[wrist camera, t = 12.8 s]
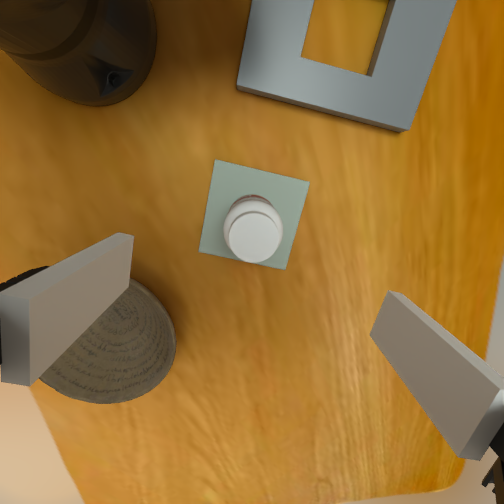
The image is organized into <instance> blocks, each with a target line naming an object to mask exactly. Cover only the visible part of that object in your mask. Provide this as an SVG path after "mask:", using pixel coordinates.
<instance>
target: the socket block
mask: <svg viewBox="0 0 504 504" xmlns="http://www.w3.org/2000/svg"><path fill="white" fill-rule="evenodd" d="M456 1H457V0H389V4H388V7H387V10H386V13H385V17H384V20H383V23H382V26H381V30H380V33H379V36H378V39H377V43H376V46H375V49H374V52H373V56H372V59H371V62H370V65H369V69H368V72H367V75H363V74H359V73H355V72H352V71H348V70H345V69H341V68H337V67H334V66H330V65H327V64H323V63H319V62H316V61H312V60H309V59H305V58H301V57H300V56H301V52H302V48H303V44H304V40H305V36H306V32H307V27H308V23H309V19H310V15H311V11H312V7H313V3H314V0H252V5H251V10H250V15H249V21H248V26H247V31H246V37H245V42H244V47H243V53H242V58H241V63H240V68H239V74H238V79H237V84H236V85H237V90H241V91H244V92H248V93H252V94H256V95H260V96H263V97H267V98H271V99H275V100H279V101H282V102H286V103H290V104H294V105H298V106H301V107H305V108H309V109H313V110H317V111H320V112H324V113H328V114H332V115H336V116H339V117H343V118H347V119H351V120H355V121H358V122H362V123H366V124H370V125H374V126H377V127H381V128H385V129H389V130H393V131H396V132H404V131H408V130H409V129H410V127H411V124H412V121H413V119H414V116H415V113H416V110H417V108H418V105H419V102H420V99H421V97H422V94H423V91H424V88H425V86H426V83H427V80H428V78H429V75H430V72H431V69H432V67H433V64H434V61H435V58H436V56H437V53H438V50H439V47H440V45H441V42H442V39H443V37H444V34H445V31H446V28H447V26H448V23H449V20H450V17H451V15H452V12H453V9H454V6H455V4H456Z"/></svg>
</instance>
